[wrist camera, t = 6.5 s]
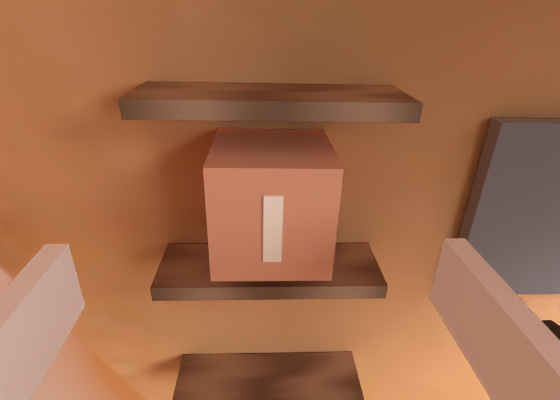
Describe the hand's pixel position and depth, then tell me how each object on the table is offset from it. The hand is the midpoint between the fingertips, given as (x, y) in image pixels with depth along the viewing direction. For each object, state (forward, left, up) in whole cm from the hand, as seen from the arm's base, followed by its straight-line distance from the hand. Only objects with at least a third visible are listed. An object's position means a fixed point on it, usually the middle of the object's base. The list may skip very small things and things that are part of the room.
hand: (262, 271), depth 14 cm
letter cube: (0, 0, -8) cm, 8 cm away
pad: (-17, +2, -8) cm, 19 cm away
